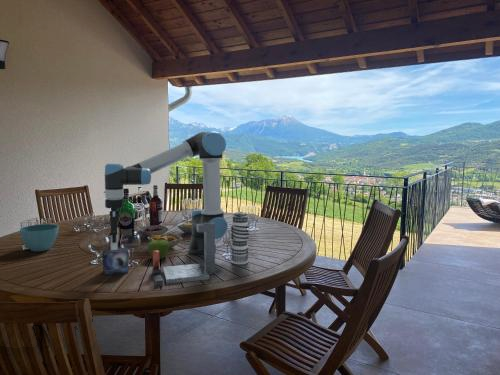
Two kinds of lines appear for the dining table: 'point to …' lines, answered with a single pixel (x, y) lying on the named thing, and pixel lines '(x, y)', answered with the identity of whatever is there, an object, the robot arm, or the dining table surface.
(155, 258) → the lever
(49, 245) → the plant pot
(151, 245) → the apple
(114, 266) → the small box
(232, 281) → the dining table surface
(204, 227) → the press
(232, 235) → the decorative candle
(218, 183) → the robot arm
